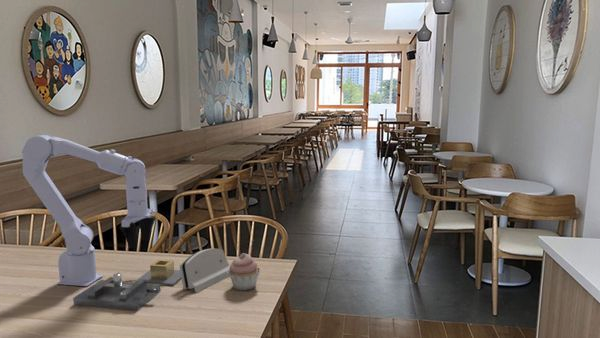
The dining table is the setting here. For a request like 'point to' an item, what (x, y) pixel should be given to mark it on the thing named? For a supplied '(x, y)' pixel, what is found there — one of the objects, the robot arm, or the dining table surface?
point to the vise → (118, 294)
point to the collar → (162, 269)
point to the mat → (170, 281)
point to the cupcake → (243, 272)
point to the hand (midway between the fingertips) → (139, 243)
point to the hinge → (204, 269)
